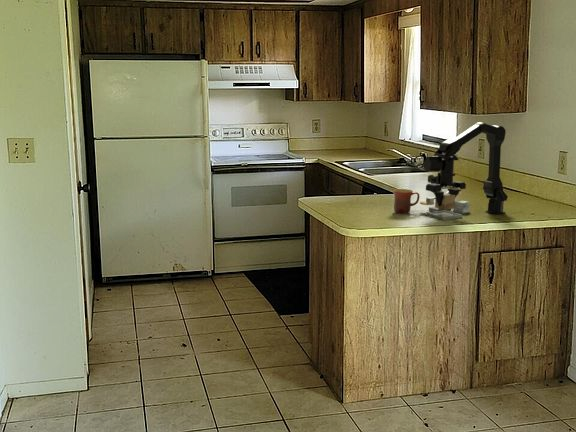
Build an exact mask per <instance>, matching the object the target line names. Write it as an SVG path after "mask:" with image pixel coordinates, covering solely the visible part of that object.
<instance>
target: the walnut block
mask: <svg viewBox="0 0 576 432" xmlns="http://www.w3.org/2000/svg"><path fill="white" fill-rule="evenodd" d="M455 201H456V198H455V195H453V194H448V193H446V192H444V195H443V199H442V204H441V206H438V203H437V200H436V198H435V199H434V207H436V208H439V209H443V210H446V209H451V210H454V208H455Z"/></svg>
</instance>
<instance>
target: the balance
mask: <svg viewBox="0 0 576 432" xmlns="http://www.w3.org/2000/svg"><path fill="white" fill-rule="evenodd" d="M445 193H448V194H449V191H448V190H447V191H446V192H445ZM461 194H462V192H461V191H460V192H459V193H458V195H461ZM435 198H436V197H435V196H433V197H431V196H430V197H426V198H425V199H426V200H422V201H419V204H420V205H423V206H429V207H428V211H429V212H435V211H443V209H439V208H436V207H435ZM432 205H433V206H432ZM431 206H432V207H431ZM446 211H450V212H452V209H446Z"/></svg>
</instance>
